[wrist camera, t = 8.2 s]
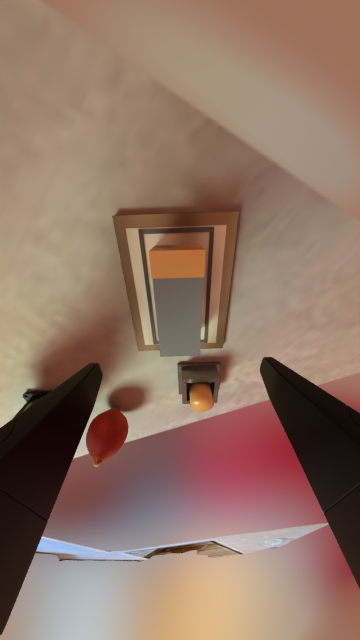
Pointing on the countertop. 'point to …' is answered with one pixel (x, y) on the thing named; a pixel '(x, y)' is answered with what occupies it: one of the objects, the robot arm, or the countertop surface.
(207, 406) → the button
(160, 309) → the grey orange block
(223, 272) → the picture frame
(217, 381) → the button collar
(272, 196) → the countertop surface
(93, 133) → the countertop surface
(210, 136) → the countertop surface
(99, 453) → the onion
